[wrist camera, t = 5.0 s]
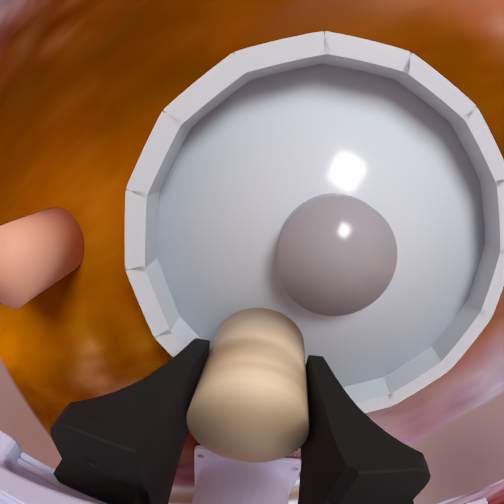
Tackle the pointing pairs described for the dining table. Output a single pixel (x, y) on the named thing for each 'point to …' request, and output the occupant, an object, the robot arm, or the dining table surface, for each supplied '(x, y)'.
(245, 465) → the robot arm
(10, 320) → the dining table surface
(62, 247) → the ball
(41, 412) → the dining table surface
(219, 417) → the maple bead
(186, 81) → the dining table surface
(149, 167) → the groove tray
